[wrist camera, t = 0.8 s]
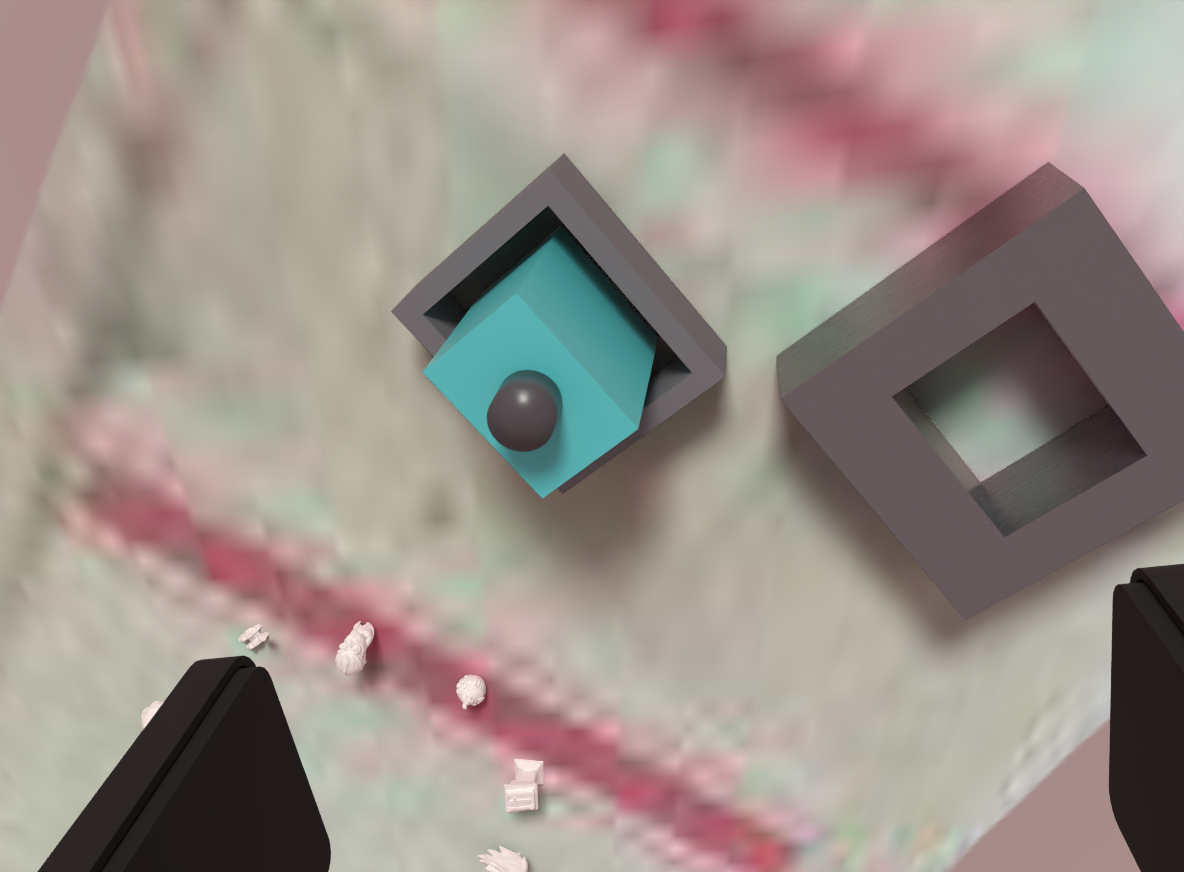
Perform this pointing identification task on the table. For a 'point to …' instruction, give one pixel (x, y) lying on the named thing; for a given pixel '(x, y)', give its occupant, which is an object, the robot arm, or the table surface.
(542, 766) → the game piece set
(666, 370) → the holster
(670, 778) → the table surface
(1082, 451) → the port
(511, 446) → the plug
